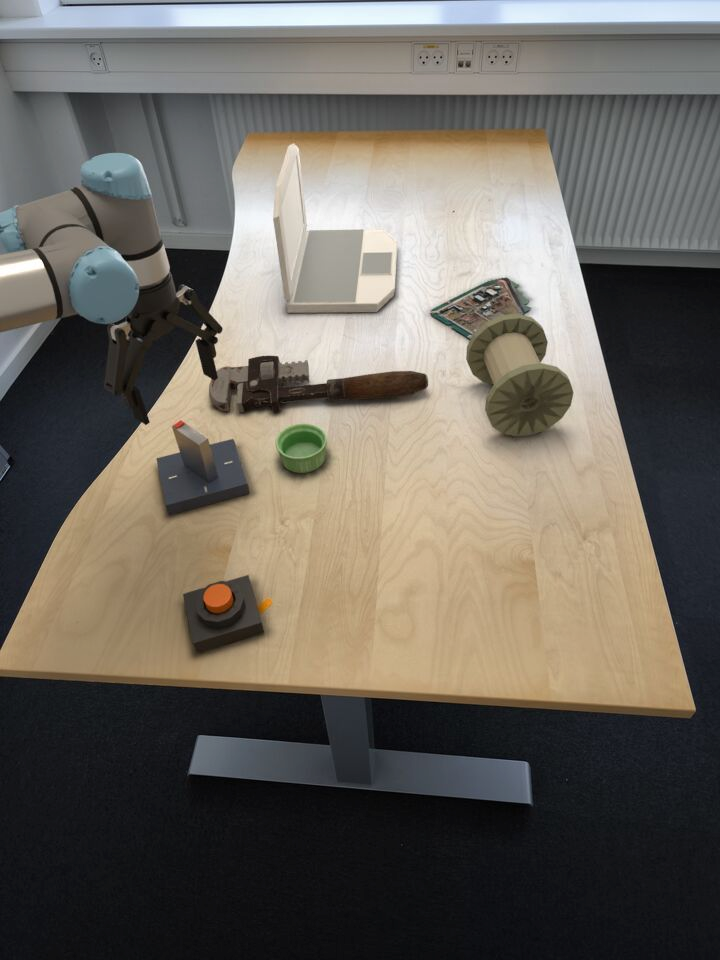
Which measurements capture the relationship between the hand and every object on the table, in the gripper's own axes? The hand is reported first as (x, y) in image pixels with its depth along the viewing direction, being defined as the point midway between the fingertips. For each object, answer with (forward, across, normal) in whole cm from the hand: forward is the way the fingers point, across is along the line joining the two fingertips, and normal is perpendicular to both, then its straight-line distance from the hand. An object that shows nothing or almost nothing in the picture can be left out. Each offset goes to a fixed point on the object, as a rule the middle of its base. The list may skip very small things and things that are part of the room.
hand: (177, 397), depth 114 cm
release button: (+16, +16, +24) cm, 33 cm away
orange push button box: (+20, +16, +24) cm, 35 cm away
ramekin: (+20, -16, +10) cm, 27 cm away
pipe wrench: (+20, -32, -2) cm, 37 cm away
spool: (+19, -51, +31) cm, 62 cm away
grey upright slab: (+17, -1, -1) cm, 17 cm away
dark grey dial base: (+20, -1, 0) cm, 20 cm away
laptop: (+19, -67, -27) cm, 75 cm away
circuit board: (+19, -74, +8) cm, 76 cm away
